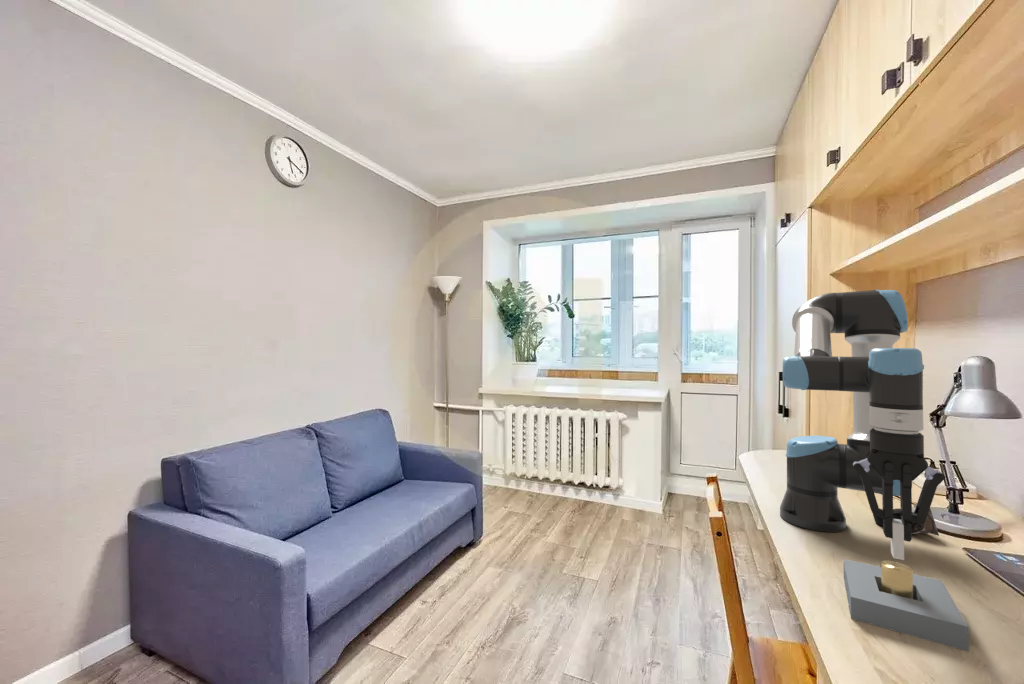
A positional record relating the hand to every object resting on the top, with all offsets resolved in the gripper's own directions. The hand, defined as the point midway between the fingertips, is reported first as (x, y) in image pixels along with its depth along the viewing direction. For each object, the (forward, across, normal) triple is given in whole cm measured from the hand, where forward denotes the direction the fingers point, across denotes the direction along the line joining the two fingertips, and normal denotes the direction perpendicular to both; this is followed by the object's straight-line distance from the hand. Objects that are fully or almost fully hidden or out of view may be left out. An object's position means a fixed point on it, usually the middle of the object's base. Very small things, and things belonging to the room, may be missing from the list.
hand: (897, 555), depth 80 cm
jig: (+10, 0, 0) cm, 10 cm away
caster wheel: (+10, +7, +46) cm, 47 cm away
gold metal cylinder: (+10, 0, 0) cm, 10 cm away
